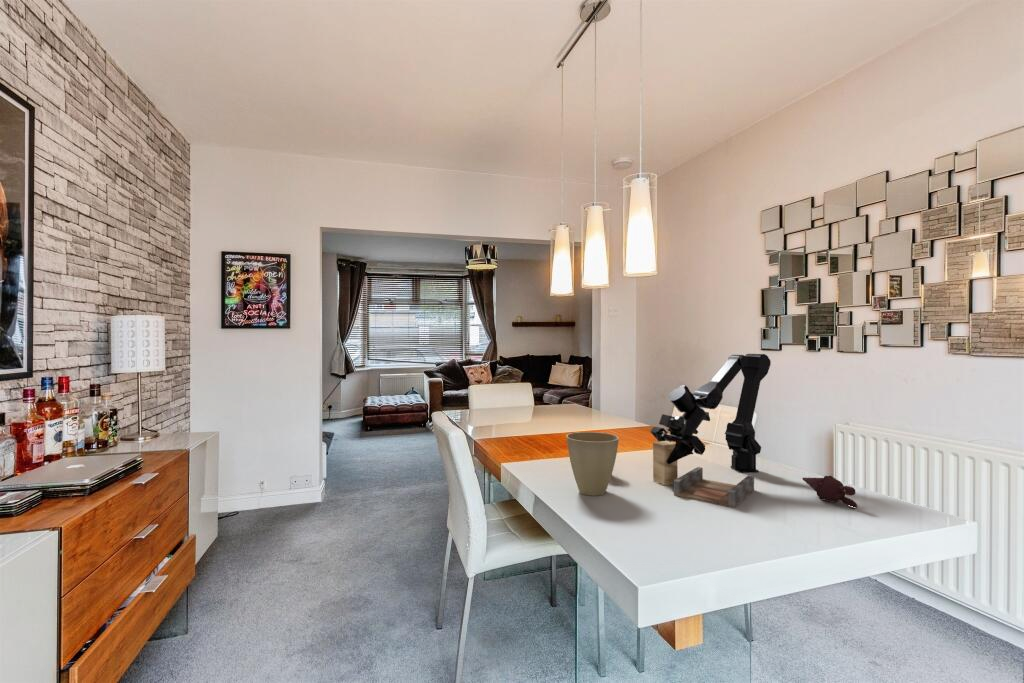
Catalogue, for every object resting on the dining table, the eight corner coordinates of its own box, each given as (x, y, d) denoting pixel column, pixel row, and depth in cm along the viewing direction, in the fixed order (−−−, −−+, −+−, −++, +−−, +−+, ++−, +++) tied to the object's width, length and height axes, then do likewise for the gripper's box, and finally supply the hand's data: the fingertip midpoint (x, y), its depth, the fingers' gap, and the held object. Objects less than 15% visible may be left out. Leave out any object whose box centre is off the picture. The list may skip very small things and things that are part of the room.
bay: (697, 479, 146) (697, 466, 146) (754, 490, 136) (753, 476, 136) (673, 494, 132) (673, 480, 132) (734, 507, 121) (734, 492, 121)
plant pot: (619, 502, 126) (619, 442, 126) (564, 498, 129) (564, 440, 129) (618, 485, 141) (618, 432, 141) (568, 482, 144) (568, 430, 144)
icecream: (791, 471, 132) (844, 492, 118) (811, 462, 134) (865, 482, 120) (794, 493, 133) (846, 517, 119) (813, 485, 135) (867, 506, 121)
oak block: (666, 479, 147) (665, 440, 147) (677, 483, 143) (677, 443, 143) (653, 480, 145) (653, 442, 145) (664, 485, 141) (664, 445, 141)
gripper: (654, 401, 154) (627, 438, 150) (697, 409, 137) (667, 450, 133) (673, 423, 157) (647, 460, 153) (718, 433, 140) (689, 475, 136)
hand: (661, 461), depth 143 cm, fingers closed on oak block, 5 cm apart
